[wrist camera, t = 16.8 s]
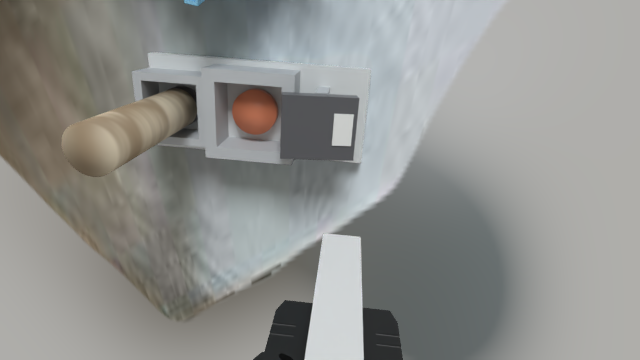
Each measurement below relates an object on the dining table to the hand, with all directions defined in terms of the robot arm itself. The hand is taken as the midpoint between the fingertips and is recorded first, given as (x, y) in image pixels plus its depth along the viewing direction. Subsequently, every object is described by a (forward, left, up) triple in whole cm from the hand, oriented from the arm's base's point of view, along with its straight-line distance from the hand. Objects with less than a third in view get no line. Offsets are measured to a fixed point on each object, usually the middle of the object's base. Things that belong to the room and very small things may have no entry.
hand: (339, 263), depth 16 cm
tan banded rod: (-18, 0, -27) cm, 32 cm away
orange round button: (-10, 0, -27) cm, 28 cm away
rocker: (-3, 0, -22) cm, 22 cm away
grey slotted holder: (-10, 0, -28) cm, 30 cm away
